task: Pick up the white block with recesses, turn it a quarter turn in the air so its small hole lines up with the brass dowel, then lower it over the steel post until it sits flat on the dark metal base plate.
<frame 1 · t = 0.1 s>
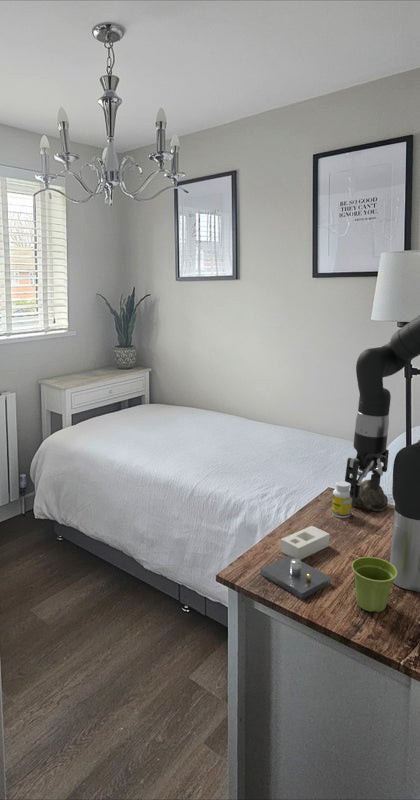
hand: (364, 493, 129), 17 cm above the table, tool pointing down, fingers open, 8 cm apart
supplement bottle: (340, 515, 156), on the table
fossil: (368, 507, 162), on the table
plant pot: (371, 605, 113), on the table
base plate: (295, 578, 123), on the table
white block with recesses: (305, 548, 137), on the table
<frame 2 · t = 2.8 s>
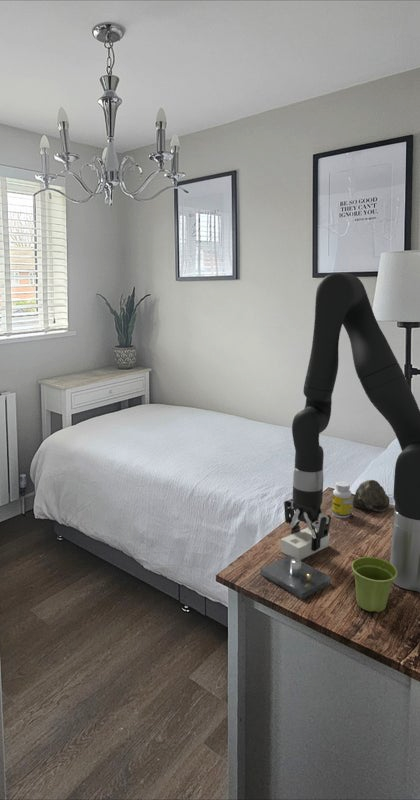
hand: (305, 544, 136), 1 cm above the table, tool pointing down, fingers closed on white block with recesses, 6 cm apart
white block with recesses: (305, 548, 137), on the table, touching gripper
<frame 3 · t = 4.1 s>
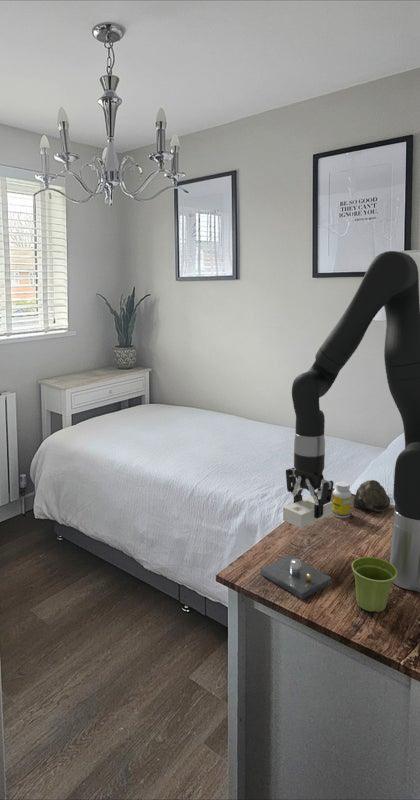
hand: (307, 513, 134), 10 cm above the table, tool pointing down, fingers closed on white block with recesses, 6 cm apart
white block with recesses: (307, 517, 134), point 9 cm above the table, touching gripper
everything else where it was.
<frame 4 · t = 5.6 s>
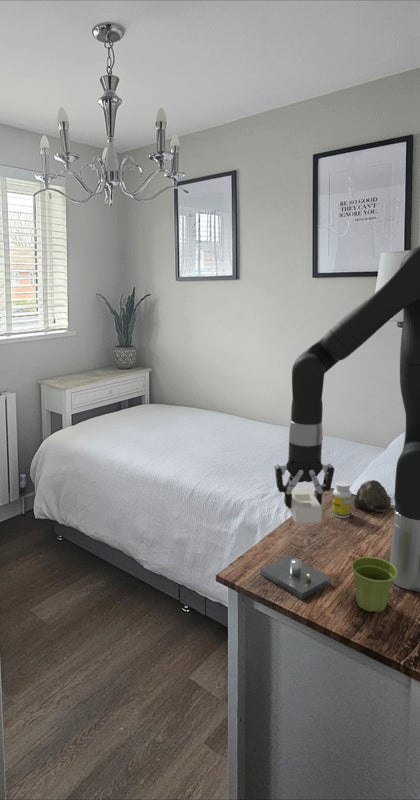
hand: (302, 506, 125), 16 cm above the table, tool pointing down, fingers closed on white block with recesses, 6 cm apart
white block with recesses: (302, 511, 125), point 14 cm above the table, touching gripper
everything else where it was.
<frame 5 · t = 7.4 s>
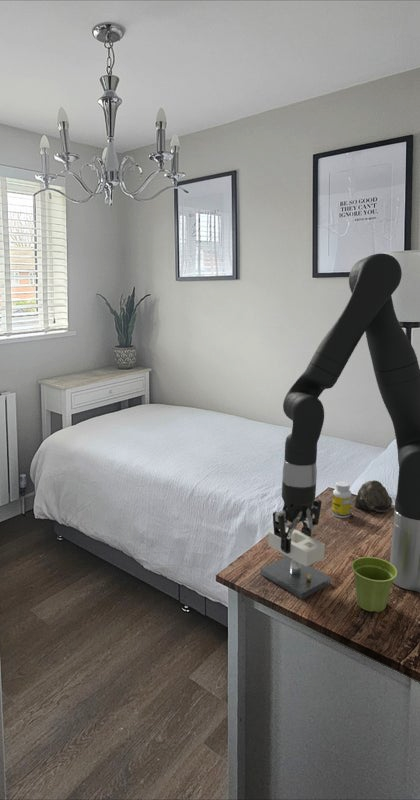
hand: (295, 547, 121), 8 cm above the table, tool pointing down, fingers closed on white block with recesses, 6 cm apart
white block with recesses: (295, 551, 122), point 7 cm above the table, touching gripper
when the fingers open (4 cm above the table, at t = 8.9 s): white block with recesses stays where it is, resting on base plate.
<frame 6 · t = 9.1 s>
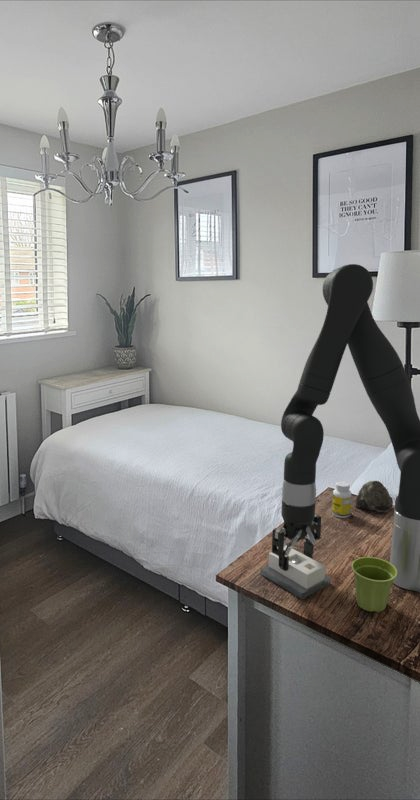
hand: (295, 563, 122), 4 cm above the table, tool pointing down, fingers open, 8 cm apart
white block with recesses: (295, 572, 123), point 1 cm above the table, touching base plate
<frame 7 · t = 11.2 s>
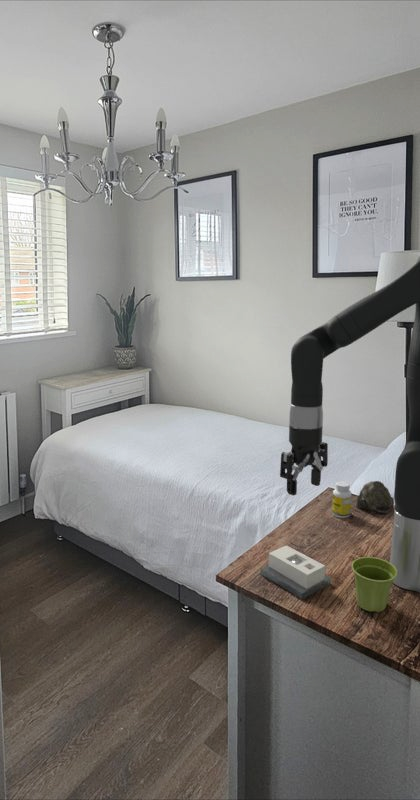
hand: (303, 489, 124), 20 cm above the table, tool pointing down, fingers open, 8 cm apart
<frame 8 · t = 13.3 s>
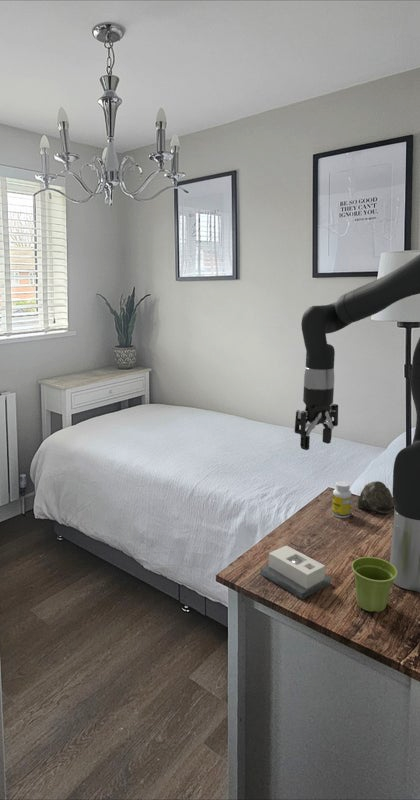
hand: (315, 445, 137), 26 cm above the table, tool pointing down, fingers open, 8 cm apart
at the end: white block with recesses 0.1 cm from the base plate (horizontally); white block with recesses point 1.5 cm above the table; white block with recesses tilted 0° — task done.
